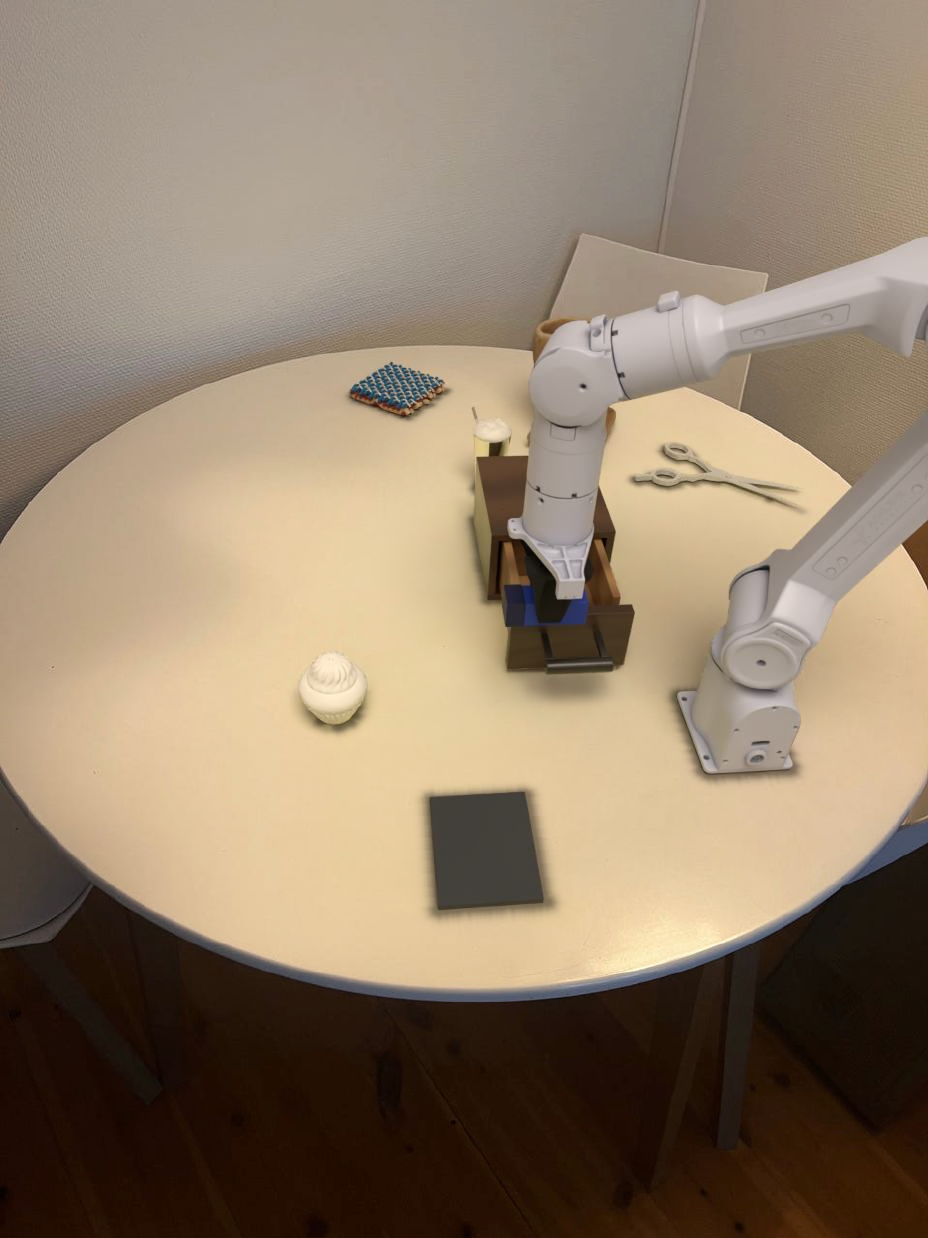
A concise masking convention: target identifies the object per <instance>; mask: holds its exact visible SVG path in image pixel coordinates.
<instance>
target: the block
mask: <svg viewBox="0 0 928 1238" xmlns="http://www.w3.org/2000/svg"><path fill="white" fill-rule="evenodd" d="M588 604H589V602H588V598H587V595H586V591H585V588H584V590H583V596H582V599H573V600H572V601H571V603H570V605H569V608H568V610H567V612H566V614H565V616H564V618H563V619H562V621H561V622H560V623H538V619H537V615H536V610H535V598H534V588H533V586H532V585H521V584H512V585H504V586H503V599H502V600H501V610H502V616H503V622H504V627H505V628H507V627H523V626H541V625H570V624H585V622H586V616H587V610H588Z"/></svg>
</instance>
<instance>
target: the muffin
mask: <svg viewBox="0 0 928 1238" xmlns="http://www.w3.org/2000/svg"><path fill="white" fill-rule="evenodd" d="M311 663H312V664H310V665H309V666H308V667H306V668H305V669H304V670H303V672H302V673H301V674H300V676H299V679H298V681H297V692H298V695H299V698H300V700H301V701H302V703H303V704H304V705H305V706H306V709H307V710H308V711H310V712H311V713H312V714H313V715H314V716H315V717H316V718H318V719H319V720H320V721H321V722H323V723H324V724H327V725H331V726H332V725H333V726H335V725H341V724H344V723H346V722H348V721H349V720H350V719H351V718H352V717H353V716H354V715H355V713H356V711H357V710H358V709H359V708H360V706H361V705H362V703H363V701H364V699H365V697H366V694H367V691H368V688H369V687H368V686H369V684H368V679H367V675H366V674H365V671H363V669H362V668H361V667H360V666H359V665H357V664H356V663H354V662H352V661H351V659H350V658H349V657H348V656H347V655H346V654H344V653H343V652H339V651H337V650H335V651H331V650H329V651H328V652H322V653H321V654H320V655H317V656H316V658H315V659H313V660H312V662H311Z"/></svg>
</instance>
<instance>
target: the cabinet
mask: <svg viewBox="0 0 928 1238" xmlns="http://www.w3.org/2000/svg"><path fill="white" fill-rule="evenodd" d="M528 456H529V455H508V456H486V457H476V476H475V475H474V476H475V477H474V478H475V480H474V499H473V525H474V531H475V537H476V544H477V548H478V554H479V560H480V566H481V573H482V575H483V576H482V577H483V582H484V589H485V595H486V600H487V601H502V598H501V593H500V587H499V582H498V566H499V552H500V541H520V540H519V539H513V538H511V537H510V536H509V532H508V520H509V519H512V518H520V517H521V516H522V514H523V510H524V499H525V489H526V479H527V467H528ZM600 487H601V486H600V485H599V486H598V492H597V499H596V505H595V511H594V518H593V524H594V533H593V538H601V540H602V543H603V546H604V549H605V552H606V555H607V558H608V561H609V563H610V564H611V561H612V555H613V551H614V546H615V545H614V544H615V540H616V533H617V530H616V528H615V525H614V522H613V520H612V517H611V514H610V512H609V509H608V506H607V503H606V501H605V499H604V498H605V497H604V495H603V493H602V490H601V488H600Z"/></svg>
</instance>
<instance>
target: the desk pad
mask: <svg viewBox="0 0 928 1238" xmlns="http://www.w3.org/2000/svg"><path fill="white" fill-rule="evenodd" d="M429 808H430V809H429V810H430V819H431V821H430V822H431V833H432V845H433V846H432V847H433V858H434V859H433V860H434V872H435V884H436V885H435V886H436V897H437V909H438V911H439V910H454V909H469V908H470V909H471V908H484V907H498V906H511V905H512V906H513V905H525V904H526V905H527V904H541V903H544V899H545V898H544V893H543V886H542V880H541V876H540V870H539V864H538V858H537V851H536V847H535V841H534V835H533V829H532V824H531V817H530V813H529V808H528V802H527V795H526V792H525V791H510V792H491V793H476V794H474V793H473V794H457V795H442V796H441V795H440V796H430V797H429Z"/></svg>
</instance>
